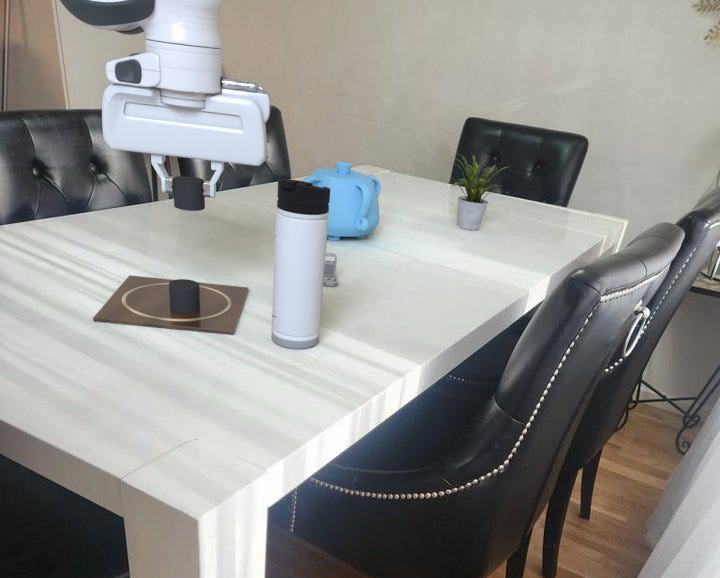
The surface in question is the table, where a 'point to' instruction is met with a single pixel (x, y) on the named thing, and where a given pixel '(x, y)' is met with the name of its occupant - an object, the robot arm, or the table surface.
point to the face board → (152, 306)
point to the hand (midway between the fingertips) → (189, 194)
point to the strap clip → (330, 272)
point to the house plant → (473, 195)
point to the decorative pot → (349, 200)
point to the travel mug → (299, 263)
